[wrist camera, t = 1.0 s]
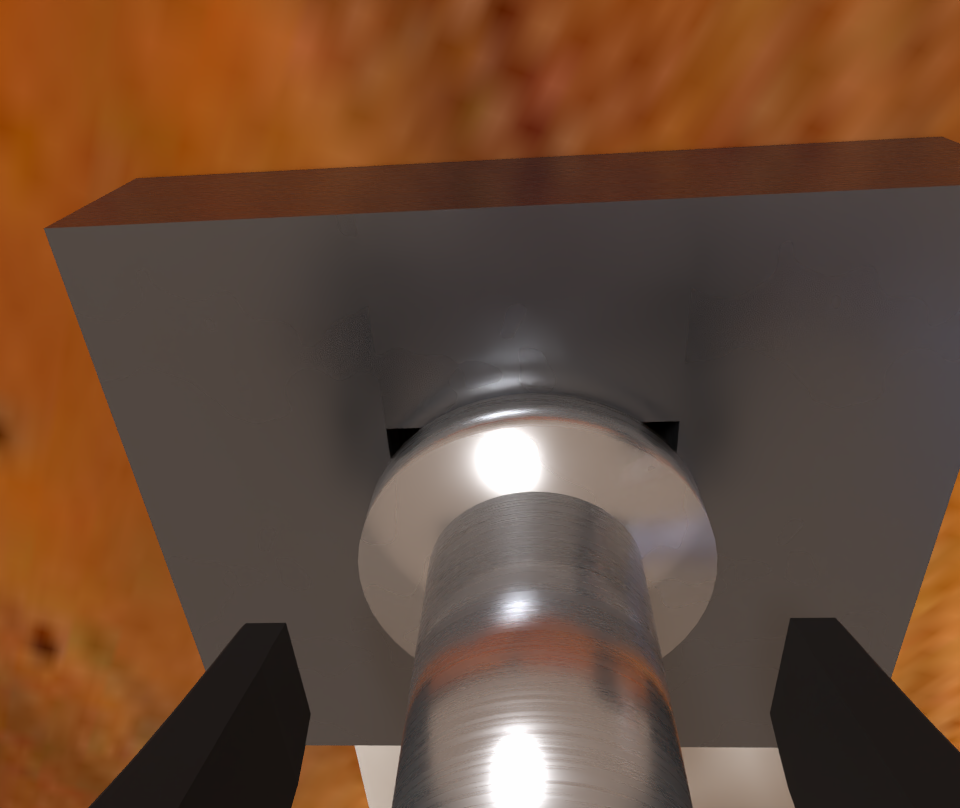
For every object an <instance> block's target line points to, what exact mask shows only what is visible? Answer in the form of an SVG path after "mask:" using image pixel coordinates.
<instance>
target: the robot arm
mask: <svg viewBox="0 0 960 808" xmlns="http://www.w3.org/2000/svg"><path fill="white" fill-rule="evenodd" d="M310 716H311V712H310V709H309V705H308V701H307V698H306V694H305V690H304V687H303V683H302V679H301V676H300V672H299V668H298V665H297V661H296V657H295V654H294V650H293V646H292V643H291V639H290V635H289V632H288V628H287V624H286V623H245V624H244V625H243V626H242V627H241V628H240V629H239V631H238V632H237V633H236V634H235V636H234V637H233V638H232V639H231V641H230V642H229V643H228V644H227V646H226V647H225V648H224V649H223V651H222V652H221V653H220V654H219V656H218V657H217V658H216V659H215V661H214V662H213V663H212V664H211V666H210V667H209V668H208V669H207V671H206V672H205V673H204V674H203V676H202V677H201V678H200V679H199V681H198V682H197V683H196V684H195V686H194V687H193V688H192V689H191V690H190V692H189V693H188V694H187V695H186V697H185V698H184V699H183V700H182V702H181V703H180V704H179V705H178V706H177V708H176V709H175V710H174V711H173V712H172V714H171V715H170V716H169V717H168V718H167V719H166V721H165V722H164V723H163V724H162V725H161V727H160V728H159V729H158V730H157V731H156V732H155V734H154V735H153V736H152V737H151V738H150V739H149V741H148V742H147V743H146V744H145V745H144V747H143V748H142V749H141V750H140V751H139V752H138V754H137V755H136V756H135V757H134V758H133V759H132V760H131V762H130V763H129V764H128V765H127V766H126V767H125V768H124V769H123V771H122V772H121V773H120V774H119V775H118V776H117V777H116V778H115V779H114V780H113V781H112V783H111V784H110V785H109V786H108V787H107V788H106V789H105V790H104V791H103V792H102V793H101V795H100V796H99V797H98V798H97V799H96V800H95V801H94V802H93V803H92V804H91V805H90V807H89V808H291V806H292V803H293V799H294V796H295V792H296V789H297V786H298V781H299V776H300V771H301V765H302V760H303V755H304V750H305V744H306V739H307V733H308V727H309V721H310ZM770 717H771V721H772V725H773V729H774V734H775V738H776V742H777V746H778V750H779V755H780V759H781V762H782V766H783V770H784V774H785V778H786V782H787V786H788V789H789V792H790V795H791V798H792V801H793V803H794V806H795V808H960V752H959V751H958V750H957V749H956V748H955V747H954V746H953V745H952V744H951V743H950V742H949V740H948V739H947V738H946V737H945V736H944V735H943V734H942V733H941V732H940V731H939V730H938V729H937V728H936V727H935V726H934V725H933V724H932V723H931V722H930V721H929V720H928V719H927V717H926V716H925V715H924V714H923V713H922V712H921V711H920V710H919V709H918V708H917V707H916V706H915V705H914V704H913V702H912V701H911V700H910V699H909V698H908V697H907V696H906V695H905V694H904V693H903V692H902V690H901V689H900V688H899V687H898V686H897V685H896V684H895V683H894V682H893V681H892V679H891V678H890V677H889V676H888V675H887V674H886V673H885V672H884V671H883V670H882V668H881V667H880V666H879V665H878V664H877V663H876V662H875V661H874V659H873V658H872V657H871V656H870V655H869V654H868V653H867V652H866V651H865V649H864V648H863V647H862V646H861V645H860V644H859V643H858V642H857V640H856V639H855V638H854V637H853V636H852V635H851V634H850V633H849V631H848V630H847V629H846V628H845V627H844V626H843V625H842V624H841V623H840V622H839V621H838V620H837V619H836V618H790V621H789V625H788V630H787V635H786V639H785V644H784V649H783V654H782V658H781V663H780V668H779V672H778V677H777V682H776V686H775V691H774V696H773V700H772V705H771V710H770Z"/></svg>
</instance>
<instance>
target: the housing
mask: <svg viewBox="0 0 960 808" xmlns="http://www.w3.org/2000/svg"><path fill="white" fill-rule="evenodd" d="M44 230H45V233H46V235H47V238H48V241H49V244H50V246H51V249H52V252H53V255H54V257H55V260H56V263H57V266H58V268H59V271H60V274H61V276H62V279H63V282H64V285H65V287H66V290H67V293H68V296H69V298H70V301H71V304H72V307H73V309H74V312H75V315H76V317H77V320H78V323H79V326H80V328H81V331H82V334H83V337H84V339H85V342H86V345H87V348H88V350H89V353H90V356H91V358H92V361H93V364H94V367H95V369H96V372H97V375H98V378H99V380H100V383H101V386H102V389H103V391H104V394H105V397H106V399H107V402H108V405H109V408H110V410H111V413H112V416H113V419H114V421H115V424H116V427H117V430H118V432H119V435H120V438H121V440H122V443H123V446H124V449H125V451H126V454H127V457H128V460H129V462H130V465H131V468H132V471H133V473H134V476H135V479H136V481H137V484H138V487H139V490H140V492H141V495H142V498H143V501H144V503H145V506H146V509H147V512H148V514H149V517H150V520H151V522H152V525H153V528H154V531H155V533H156V536H157V539H158V542H159V544H160V547H161V550H162V553H163V555H164V558H165V561H166V563H167V566H168V569H169V572H170V574H171V577H172V580H173V583H174V585H175V588H176V591H177V594H178V596H179V599H180V602H181V604H182V607H183V610H184V613H185V615H186V618H187V621H188V624H189V626H190V629H191V632H192V635H193V637H194V640H195V643H196V646H197V648H198V651H199V654H200V656H201V659H202V662H203V665H204V667H205V670H206V671H207V669H208V668H209V667H210V666H211V664H212V663H213V662H214V661H215V659H216V658H217V657H218V656H219V654H220V653H221V652H222V651H223V649H224V648H225V647H226V646H227V644H228V643H229V642H230V641H231V639H232V638H233V637H234V636H235V634H236V633H237V632H238V631H239V629H240V628H241V627H242V626H243V625H244V624H245V623H286V624H287V628H288V632H289V635H290V639H291V643H292V646H293V650H294V654H295V657H296V661H297V665H298V668H299V672H300V676H301V679H302V683H303V687H304V690H305V694H306V698H307V701H308V705H309V709H310V712H311V716H310V721H309V727H308V733H307V739H306V744H305V745H369V746H401V743H402V737H403V730H404V724H405V717H406V711H407V704H408V698H409V691H410V685H411V678H412V672H413V665H414V659H415V658H414V657H413V656H412V655H410V654H409V653H407V652H406V651H405V650H404V649H403V648H402V647H401V646H399V645H398V644H397V643H396V642H395V641H394V640H393V639H392V638H391V637H390V636H389V635H388V633H387V632H386V631H385V630H384V629H383V628H382V626H381V625H380V623H379V622H378V620H377V619H376V617H375V616H374V614H373V613H372V611H371V609H370V607H369V605H368V602H367V600H366V598H365V596H364V592H363V589H362V585H361V582H360V577H359V567H358V554H359V543H360V539H361V535H362V531H363V527H364V523H365V520H366V516H367V513H368V509H369V506H370V502H371V498H372V495H373V491H374V488H375V486H376V484H377V482H378V479H379V477H380V475H381V473H382V471H383V469H384V468H385V466H386V465H387V463H388V462H389V460H390V459H391V457H392V456H393V455H394V454H395V453H396V451H397V450H398V449H399V448H400V447H401V446H402V445H403V443H404V442H405V441H407V440H408V439H409V438H410V437H411V436H413V435H414V434H415V433H416V432H417V431H418V430H419V428H422V427H424V426H426V425H427V424H429V423H430V422H432V421H433V420H435V419H437V418H438V417H440V416H442V415H444V414H446V413H449V412H451V411H453V410H455V409H457V408H459V407H462V406H465V405H468V404H471V403H474V402H477V401H480V400H484V399H489V398H494V397H499V396H504V395H514V394H526V393H543V394H559V395H566V396H573V397H579V398H583V399H587V400H591V401H595V402H598V403H602V404H605V405H607V406H610V407H612V408H615V409H617V410H620V411H622V412H624V413H626V414H628V415H630V416H632V417H634V418H635V419H637V420H639V421H641V422H646V425H647V426H648V427H650V428H651V429H652V430H654V431H655V432H656V433H658V434H659V435H660V436H662V437H663V438H664V439H665V440H666V441H667V442H668V443H669V444H670V445H671V446H672V447H673V448H674V449H675V450H676V452H677V453H678V454H679V456H680V457H681V458H682V460H683V461H684V462H685V464H686V465H687V466H688V468H689V470H690V472H691V474H692V476H693V478H694V480H695V482H696V484H697V487H698V490H699V493H700V495H701V498H702V501H703V504H704V507H705V510H706V513H707V516H708V519H709V522H710V525H711V528H712V531H713V534H714V537H715V542H716V550H717V576H716V580H715V585H714V589H713V593H712V595H711V598H710V600H709V603H708V605H707V608H706V610H705V611H704V613H703V615H702V616H701V618H700V620H699V621H698V623H697V624H696V626H695V627H694V628H693V629H692V631H691V632H690V633H689V634H688V635H687V637H686V638H685V639H684V640H683V641H682V642H681V643H680V644H678V645H677V646H676V647H675V648H674V649H673V650H672V651H671V652H670V653H668V654H667V655H665V656H664V657H663V658H662V660H663V665H664V669H665V674H666V679H667V684H668V689H669V694H670V699H671V704H672V708H673V713H674V718H675V723H676V728H677V733H678V738H679V743H680V747H737V748H778V746H777V742H776V738H775V734H774V729H773V725H772V721H771V717H770V710H771V705H772V700H773V696H774V691H775V686H776V682H777V677H778V672H779V668H780V663H781V658H782V654H783V649H784V644H785V639H786V635H787V630H788V625H789V621H790V618H836V619H837V620H838V621H839V622H840V623H841V624H842V625H843V626H844V627H845V628H846V629H847V630H848V631H849V633H850V634H851V635H852V636H853V637H854V638H855V639H856V640H857V642H858V643H859V644H860V645H861V646H862V647H863V648H864V649H865V651H866V652H867V653H868V654H869V655H870V656H871V657H872V658H873V659H874V661H875V662H876V663H877V664H878V665H879V666H880V667H881V668H882V670H883V671H884V672H885V673H886V674H887V675H888V676H889V677H890V678H891V676H892V673H893V670H894V667H895V664H896V661H897V658H898V655H899V651H900V648H901V645H902V642H903V639H904V636H905V633H906V630H907V627H908V624H909V621H910V618H911V615H912V612H913V609H914V606H915V603H916V600H917V597H918V594H919V590H920V587H921V584H922V581H923V578H924V575H925V572H926V569H927V566H928V563H929V560H930V557H931V554H932V551H933V548H934V545H935V542H936V539H937V536H938V533H939V530H940V526H941V523H942V520H943V517H944V514H945V511H946V508H947V505H948V502H949V499H950V496H951V493H952V490H953V487H954V484H955V481H956V478H957V475H958V472H959V469H960V144H959V143H957V142H954V141H952V140H949V139H947V138H944V137H926V138H907V139H888V140H869V141H849V142H830V143H811V144H791V145H772V146H753V147H733V148H714V149H695V150H676V151H656V152H637V153H618V154H598V155H579V156H560V157H540V158H521V159H502V160H482V161H463V162H444V163H425V164H405V165H386V166H367V167H347V168H328V169H309V170H289V171H270V172H251V173H232V174H212V175H193V176H174V177H154V178H136V179H134V180H132V181H131V182H129V183H127V184H125V185H123V186H121V187H120V188H118V189H116V190H114V191H112V192H110V193H109V194H107V195H105V196H103V197H101V198H99V199H97V200H96V201H94V202H92V203H90V204H88V205H86V206H85V207H83V208H81V209H79V210H77V211H75V212H73V213H72V214H70V215H68V216H66V217H64V218H62V219H61V220H59V221H57V222H55V223H53V224H51V225H49V226H48V227H46V228H44Z"/></svg>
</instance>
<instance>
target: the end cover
mask: <svg viewBox="0 0 960 808" xmlns="http://www.w3.org/2000/svg"><path fill="white" fill-rule="evenodd" d="M358 567H359V577H360V582H361V585H362V589H363V592H364V596H365V598H366V600H367V602H368V605H369V607H370V609H371V611H372V613H373V614H374V616H375V617H376V619H377V620H378V622H379V623H380V625H381V626H382V628H383V629H384V630H385V631H386V632H387V633H388V635H389V636H390V637H391V638H392V639H393V640H394V641H395V642H396V643H397V644H398V645H399V646H401V647H402V648H403V649H404V650H405V651H406V652H407V653H409V654H410V655H412V656H413V657H414V658H415V659H414V665H413V672H412V678H411V685H410V691H409V698H408V704H407V711H406V717H405V724H404V730H403V737H402V743H401V750H400V756H399V763H398V769H397V776H396V782H395V788H394V795H393V801H392V808H693V806H692V801H691V796H690V791H689V786H688V781H687V777H686V772H685V767H684V762H683V757H682V752H681V747H680V743H679V738H678V733H677V728H676V723H675V718H674V713H673V708H672V704H671V699H670V694H669V689H668V684H667V679H666V674H665V669H664V665H663V660H662V658H663V657H664V656H665V655H667V654H668V653H670V652H671V651H672V650H673V649H674V648H675V647H676V646H677V645H678V644H680V643H681V642H682V641H683V640H684V639H685V638H686V637H687V635H688V634H689V633H690V632H691V631H692V629H693V628H694V627H695V626H696V624H697V623H698V621H699V620H700V618H701V616H702V615H703V613H704V611H705V610H706V608H707V605H708V603H709V600H710V598H711V595H712V593H713V589H714V585H715V580H716V576H717V550H716V542H715V537H714V534H713V531H712V528H711V525H710V522H709V519H708V516H707V513H706V510H705V507H704V504H703V501H702V498H701V495H700V493H699V490H698V487H697V484H696V482H695V480H694V478H693V476H692V474H691V472H690V470H689V468H688V466H687V465H686V464H685V462H684V461H683V460H682V458H681V457H680V456H679V454H678V453H677V452H676V450H675V449H674V448H673V447H672V446H671V445H670V444H669V443H668V442H667V441H666V440H665V439H664V438H663V437H662V436H660V435H659V434H658V433H656V432H655V431H654V430H652V429H651V428H650V427H648V426H647V425H646V424H644V423H643V422H641V421H639V420H637V419H635V418H634V417H632V416H630V415H628V414H626V413H624V412H622V411H620V410H617V409H615V408H612V407H610V406H607V405H605V404H602V403H598V402H595V401H591V400H587V399H583V398H579V397H573V396H566V395H559V394H543V393H526V394H514V395H504V396H499V397H494V398H489V399H484V400H480V401H477V402H474V403H471V404H468V405H465V406H462V407H459V408H457V409H455V410H453V411H451V412H449V413H446V414H444V415H442V416H440V417H438V418H437V419H435V420H433V421H432V422H430V423H429V424H427V425H426V426H424V427H422V428H421V429H420V430H418V431H417V432H416V433H415V434H414V435H413V436H411V437H410V438H409V439H408V440H407V441H405V442H404V443H403V445H402V446H401V447H400V448H399V449H398V450H397V451H396V453H395V454H394V455H393V456H392V457H391V459H390V460H389V462H388V463H387V465H386V466H385V468H384V469H383V471H382V473H381V475H380V477H379V479H378V482H377V484H376V486H375V488H374V491H373V495H372V498H371V502H370V506H369V509H368V513H367V516H366V520H365V523H364V527H363V531H362V535H361V539H360V543H359V554H358Z"/></svg>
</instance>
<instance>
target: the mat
mask: <svg viewBox="0 0 960 808" xmlns="http://www.w3.org/2000/svg"><path fill="white" fill-rule="evenodd" d="M355 749H356V753H357V757H358V762H359V766H360V770H361V775H362V779H363V783H364V787H365V792H366V796H367V800H368V805H369V808H392V801H393V795H394V788H395V782H396V776H397V769H398V763H399V756H400V750H401V746H369V745H355ZM681 752H682V757H683V762H684V767H685V772H686V777H687V781H688V786H689V791H690V796H691V801H692V806H693V808H795V806H794V803H793V801H792V798H791V795H790V792H789V789H788V786H787V782H786V778H785V774H784V770H783V766H782V762H781V759H780V755H779V750H778V748H737V747H681Z"/></svg>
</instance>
